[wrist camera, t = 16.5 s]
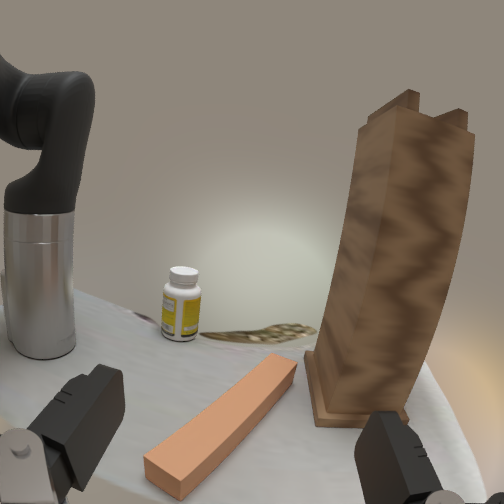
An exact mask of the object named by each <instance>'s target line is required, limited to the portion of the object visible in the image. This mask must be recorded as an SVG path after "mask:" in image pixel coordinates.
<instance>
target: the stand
mask: <svg viewBox="0 0 504 504" xmlns="http://www.w3.org/2000/svg"><path fill="white" fill-rule="evenodd" d="M419 97H420V93H419V92H416V91H413V90H410V89H408V90H406V91H405V92H404V93H402V94H400V95H399V96H397V97H396V98H394V99H393V100H392V101H390V102H388V103H387V104H385V105H384V106H383V107H381V108H380V109H378V110H377V111H375V112H374V113H372V114H371V115H370V116H368V121H367V124H366V125H364V126H363V127H361V128H360V129H359V130H358V138H357V145H356V152H355V159H354V166H353V173H352V179H351V185H350V191H349V197H348V203H347V209H346V214H345V219H344V224H343V230H342V235H341V240H340V245H339V250H338V254H337V259H336V264H335V269H334V273H333V278H332V282H331V286H330V291H329V295H328V299H327V303H326V307H325V312H324V316H323V320H322V324H321V328H320V331H319V335H318V339H317V343H316V346H315V350H314V351H305V355H304V361H305V367H306V373H307V378H308V384H309V390H310V396H311V402H312V408H313V414H314V420H315V426H319V427H339V428H364V427H365V425H366V423H367V421H368V419H369V417H370V415H371V413H372V412H373V411H396V412H397V413H398V414H399V416H400V418H401V420H402V423H403V425H407V424H408V422H409V418H408V416H407V414H406V412H405V410H404V408H403V407H404V405H405V403H406V401H407V399H408V397H409V394H410V392H411V390H412V388H413V386H414V383H415V381H416V379H417V376H418V374H419V372H420V369H421V367H422V365H423V362H424V360H425V357H426V355H427V352H428V349H429V346H430V344H431V341H432V338H433V336H434V333H435V330H436V327H437V324H438V321H439V319H440V316H441V312H442V309H443V306H444V303H445V300H446V296H447V293H448V289H449V286H450V282H451V278H452V275H453V271H454V267H455V263H456V259H457V255H458V250H459V246H460V241H461V237H462V232H463V227H464V221H465V216H466V210H467V203H468V198H469V190H470V183H471V175H472V165H473V155H474V141H475V134H473V133H470V132H468V131H467V124H468V112H466V111H464V110H461V109H459V108H458V109H455V110H453V111H450V112H447V113H445V114H442V115H439V116H437V117H434V118H433V117H430V116H427V115H424V114H422V113H419Z"/></svg>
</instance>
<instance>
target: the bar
mask: <svg viewBox="0 0 504 504" xmlns="http://www.w3.org/2000/svg"><path fill="white" fill-rule="evenodd" d="M297 363H298V362H295V361H292V360H290V359H287V358H284V357H281V356H279V355H276V354H273V353H271V354H270V355H269V356H268V357H266V358H265V359H264V360H263V361H262V362H261V363H260V364H259V365H257V366H256V367H255V368H254V369H253V370H252V371H251V372H249V373H248V374H247V375H246V376H245V377H244V378H242V379H241V380H240V381H239V382H238V383H236V384H235V385H234V386H233V387H232V388H231V389H229V390H228V391H227V392H226V393H225V394H223V395H222V396H221V397H220V398H218V399H217V400H216V401H215V402H214V403H212V404H211V405H210V406H209V407H207V408H206V409H205V410H204V411H202V412H201V413H200V414H199V415H197V416H196V417H195V418H193V419H192V420H191V421H190V422H188V423H187V424H186V425H184V426H183V427H182V428H180V429H179V430H178V431H176V432H175V433H174V434H172V435H171V436H170V437H168V438H167V439H166V440H164V441H163V442H162V443H160V444H159V445H158V446H156V447H155V448H153V449H152V450H151V451H149V452H148V453H146V454H145V455H144V456H143V457H144V467H145V476H146V478H147V479H148V480H149V481H151V482H152V483H154V484H155V485H156V486H158V487H159V488H161V489H162V490H164V491H165V492H167V493H168V494H170V495H171V496H173V497H174V498H176V499H177V500H179V501H181V500H183V499H184V498H185V497H186V496H187V495H188V494H189V493H190V492H191V491H192V490H193V489H194V488H195V487H197V486H198V485H199V484H200V483H201V482H202V481H203V480H204V479H205V478H206V477H207V476H208V475H209V474H210V473H211V472H212V471H213V470H214V469H215V468H216V467H217V466H218V465H219V464H220V463H221V462H222V461H223V460H224V459H225V458H226V457H227V456H228V455H229V454H230V453H231V452H232V451H233V450H234V449H235V448H236V446H237V445H238V444H239V443H240V442H241V441H242V440H243V439H244V438H245V437H246V436H247V435H248V434H249V432H250V431H251V430H252V429H253V428H254V427H255V426H256V425H257V424H258V423H259V421H260V420H261V419H262V418H263V417H264V416H265V415H266V413H267V412H268V411H269V410H270V409H271V408H272V407H273V405H274V404H275V403H276V402H277V401H278V399H279V398H280V397H281V396H282V395H283V394H284V392H285V391H286V390H287V389H288V387H289V386H290V385H291V384H292V381H293V378H294V374H295V370H296V367H297Z"/></svg>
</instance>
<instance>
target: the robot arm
mask: <svg viewBox="0 0 504 504" xmlns="http://www.w3.org/2000/svg"><path fill="white" fill-rule="evenodd" d="M94 107H95V89H94V84H93V82H92V80H91V78H90V77H89V76H88V75H87V74H85V73H83V72H77V71H76V72H75V71H72V72H57V73H46V74H35V75H33V74H27V73H24V72H22V71H20V70H18V69H17V68H15V67H14V66H12V65H11V64H10V63H8V62H7V61H5V60H4V58H3V57H2V56H1V55H0V139H2V140H3V141H5V142H7V143H9V144H10V145H12V146H14V147H17V148H21V149H26V150H42V152H41V156H40V159H39V162H38V164H37V166H36V167H35V168H34V169H33V170H32V171H31V172H30V173H28V174H27V175H26V176H24V177H22V178H20V179H18V180H15V181H13V182H11V183H9V184H8V185H7V187H6V189H5V196H4V265H5V269H3V270H2V271H1V273H0V277H1V288H2V297H3V306H4V314H5V320H6V327H7V333H8V338H9V340H10V341H12V342H13V343H14V346H15V348H16V349H17V350H18V351H19V352H20V353H21V354H23V355H25V356H27V357H31V358H36V359H50V358H56V357H59V356H62V355H64V354H66V353H68V352H69V351H71V350H72V349H73V348H74V346H75V344H76V333H75V320H74V299H73V233H74V215H75V202H76V196H77V192H78V188H79V184H80V181H81V174H82V168H83V161H84V156H85V150H86V145H87V141H88V136H89V132H90V128H91V123H92V118H93V113H94ZM124 413H125V397H124V385H123V374H122V371H121V370H118V369H114V368H111V367H108V366H105V365H102V364H98V365H97V366H96V367H95V368H94V369H93V371H92V372H91V373H90V374H89V375H88V376H87V375H84V374H81V375H79V376H77V377H75V378H73V379H71V380H69V381H68V382H67V383H66V384H65V385H64V387H63V388H62V389H61V391H60V392H58V393H57V394H56V396H55V397H54V399H53V400H51V401H50V402H49V404H48V405H47V406H46V407H45V408H44V409H43V410H42V412H41V413H40V414H39V415H38V416H37V417H36V419H35V420H34V421H33V422H32V423H31V424H30V426H29V427H28V428H27V429H22V428H16V429H11V430H8V431H6V432H5V433H4V434H2V435H0V502H1V504H69V501H68V498H67V493H68V491H69V490H70V488H71V487H73V488H75V489H77V490H79V491H81V492H83V491H84V489H85V487H86V485H87V483H88V481H89V479H90V478H91V476H92V474H93V472H94V470H95V469H96V467H97V465H98V463H99V461H100V460H101V458H102V456H103V454H104V452H105V451H106V449H107V447H108V445H109V443H110V442H111V440H112V438H113V436H114V435H115V433H116V431H117V429H118V427H119V426H120V424H121V422H122V420H123V417H124ZM354 457H355V462H356V466H357V470H358V474H359V478H360V482H361V486H362V491H363V495H364V499H365V503H366V504H504V493H503V492H500V493H496V494H494V495H493V496H491V497H490V498H489V499H488V500H487V501H486V502H485V503H464V501H463V499H462V498H461V497H460V496H459V495H458V494H456V493H454V492H452V491H448V490H443V488H442V486H441V483H440V481H439V479H438V477H437V475H436V472H435V470H434V468H433V466H432V464H431V462H430V459H429V457H427V453H426V451H425V449H424V448H423V445H422V443H421V441H420V439H419V436H418V435H417V434H416V433H415V432H414V431H413V430H412V429H411V428H410V427H409V426H408V425H403V423H402V420H401V418H400V416H399V414H398V413H397V412H396V411H373V412H372V413H371V415H370V417H369V419H368V421H367V423H366V425H365V427H364V429H363V431H362V433H361V435H360V437H359V438H358V440H357V442H356V445H355V451H354Z"/></svg>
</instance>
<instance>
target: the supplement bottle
mask: <svg viewBox="0 0 504 504" xmlns="http://www.w3.org/2000/svg"><path fill="white" fill-rule="evenodd" d="M169 277H170V280H171V282H168V283H167V284H166V285H165V286H164V291H163V306H162V326H161V329H162V333H163V335H164V336H165V337H167V338H169V339H172V340H176V341H188V340H191V339H193V338H195V337H196V335H197V331H198V322H199V311H200V301H201V290H200V287H199V286H198V285H196V283H197V280H198V271H197V270H196V269H193V268H189V267H181V266H179V267H178V266H177V267H172V268H171V269H170V275H169Z"/></svg>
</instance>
